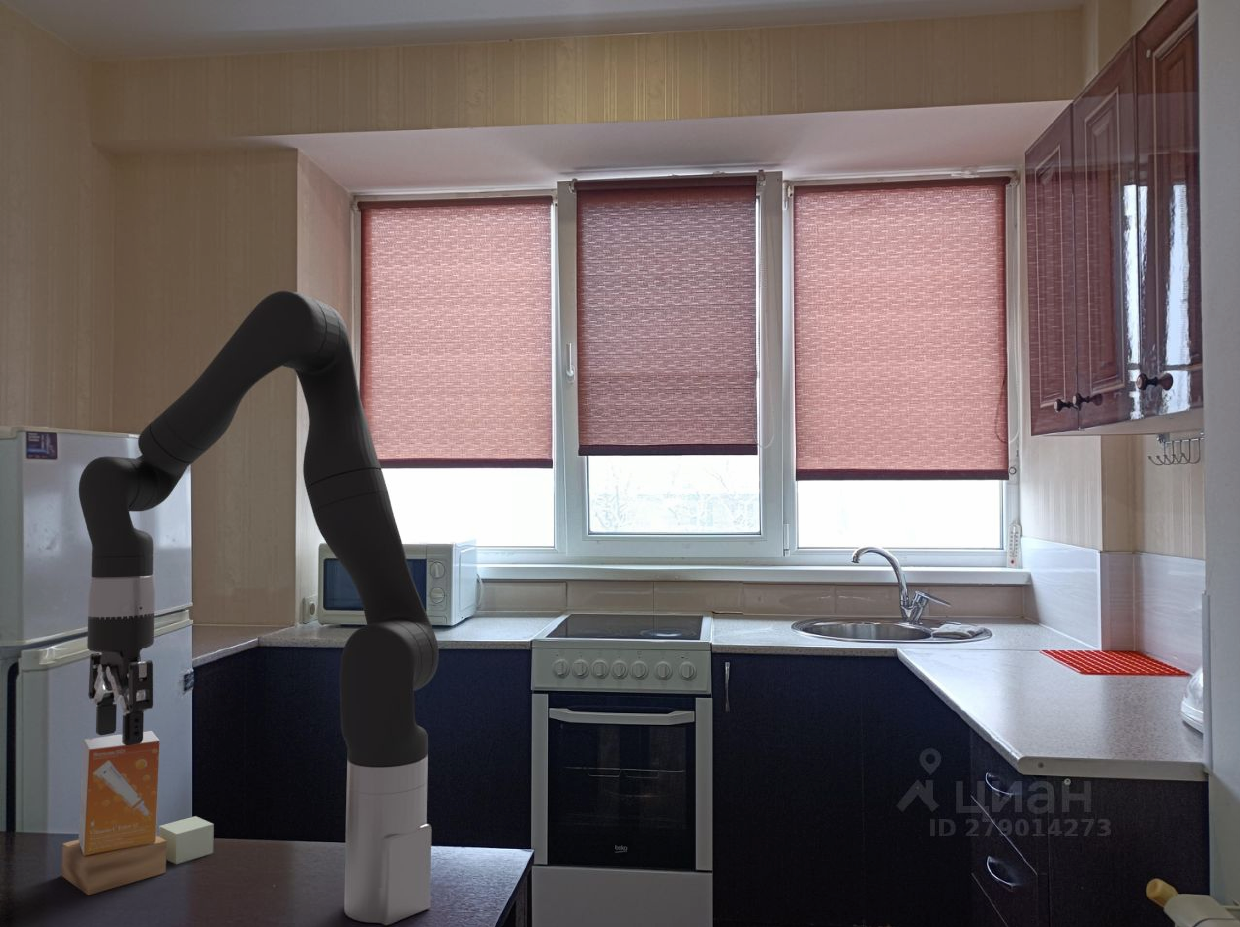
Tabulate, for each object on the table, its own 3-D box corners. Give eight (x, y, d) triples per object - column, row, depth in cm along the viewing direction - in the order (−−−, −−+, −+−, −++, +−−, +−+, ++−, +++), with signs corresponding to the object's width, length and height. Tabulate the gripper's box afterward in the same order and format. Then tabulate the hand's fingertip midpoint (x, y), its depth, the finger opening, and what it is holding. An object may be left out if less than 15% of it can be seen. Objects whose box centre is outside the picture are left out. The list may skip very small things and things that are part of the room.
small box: (83, 857, 109) (87, 748, 109) (77, 842, 114) (81, 738, 114) (157, 843, 113) (160, 739, 114) (148, 829, 119) (152, 729, 119)
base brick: (165, 872, 114) (166, 840, 114) (88, 895, 107) (89, 861, 108) (136, 855, 120) (137, 824, 120) (61, 875, 113) (62, 843, 113)
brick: (212, 854, 121) (213, 824, 121) (175, 865, 117) (176, 834, 117) (194, 845, 124) (195, 816, 124) (157, 856, 120) (158, 825, 120)
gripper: (175, 612, 114) (173, 741, 113) (130, 606, 123) (127, 725, 122) (112, 617, 108) (109, 754, 107) (69, 610, 117) (66, 736, 116)
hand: (118, 738), depth 115 cm, fingers open, 8 cm apart
